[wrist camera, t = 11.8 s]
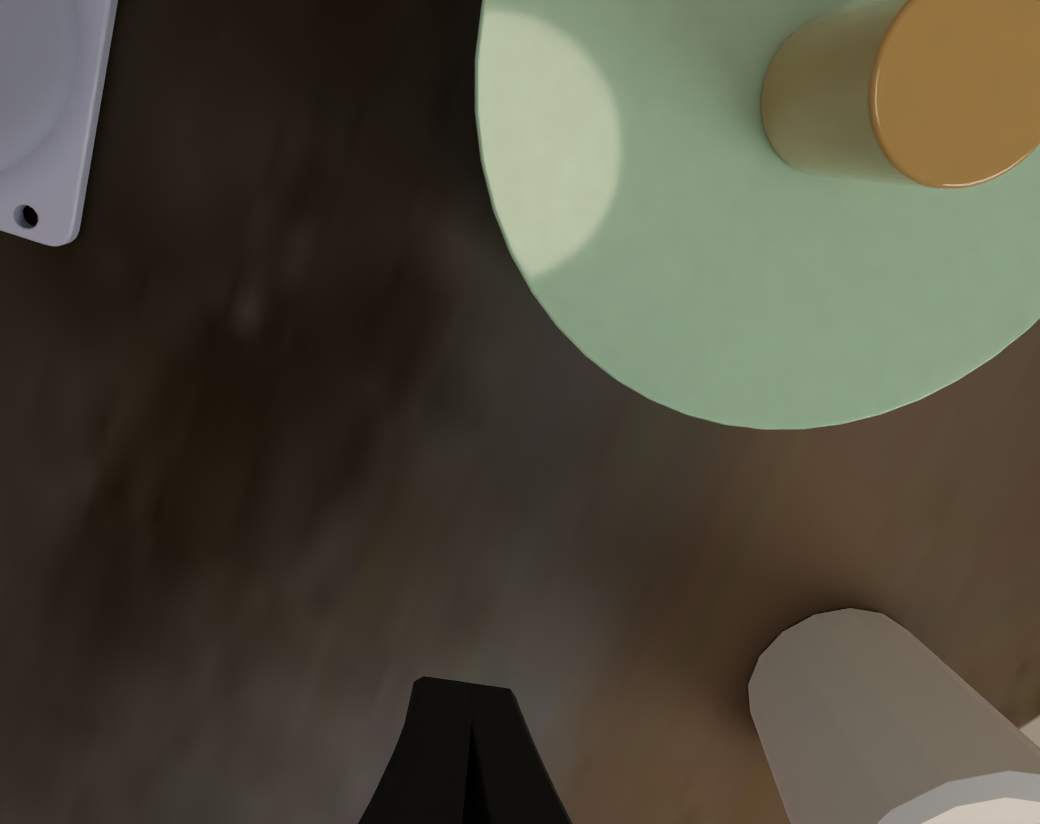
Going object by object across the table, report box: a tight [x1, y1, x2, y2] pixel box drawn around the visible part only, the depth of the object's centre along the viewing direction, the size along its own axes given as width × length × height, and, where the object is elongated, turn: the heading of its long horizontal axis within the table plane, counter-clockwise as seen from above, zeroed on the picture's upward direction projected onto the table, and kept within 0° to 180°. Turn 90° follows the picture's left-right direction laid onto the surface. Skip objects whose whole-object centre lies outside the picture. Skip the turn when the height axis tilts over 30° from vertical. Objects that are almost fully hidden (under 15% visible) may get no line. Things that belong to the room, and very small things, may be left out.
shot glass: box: [748, 608, 1040, 824], centre depth 20 cm, size 7×7×7 cm
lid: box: [474, 0, 1040, 429], centre depth 10 cm, size 11×11×4 cm
